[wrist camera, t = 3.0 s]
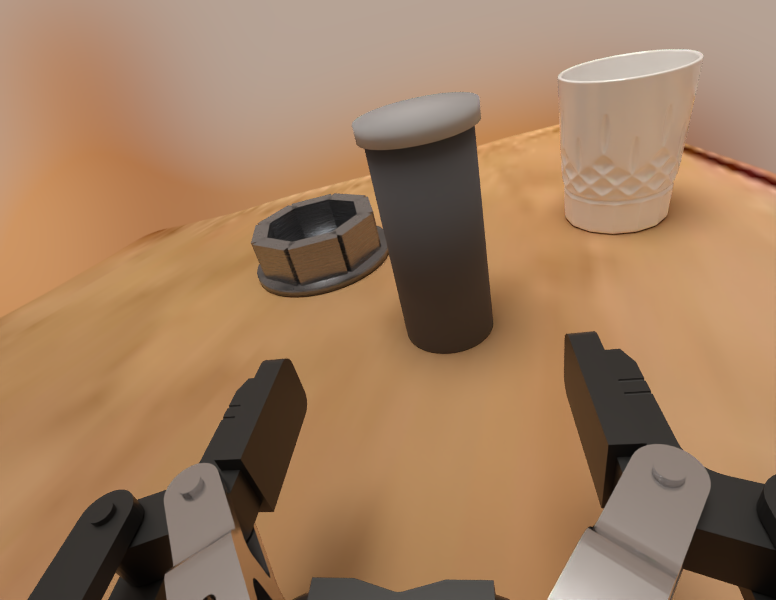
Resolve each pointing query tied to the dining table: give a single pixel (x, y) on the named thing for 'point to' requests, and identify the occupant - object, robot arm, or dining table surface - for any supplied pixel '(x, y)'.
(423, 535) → the dining table surface
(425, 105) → the white-topped grey cylinder
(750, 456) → the dining table surface
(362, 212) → the octagonal ring holder
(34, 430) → the dining table surface
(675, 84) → the white cup
